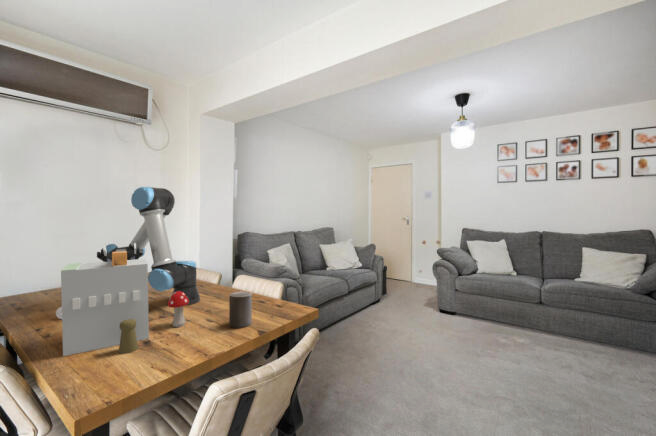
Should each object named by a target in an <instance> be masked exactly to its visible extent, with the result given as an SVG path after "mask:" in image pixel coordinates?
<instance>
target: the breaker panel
mask: <svg viewBox="0 0 656 436" xmlns="http://www.w3.org/2000/svg"><path fill="white" fill-rule="evenodd" d="M148 267H149V265H148V262H147V259H146V258H141V259H140V258H139V259H136V260H127V265H120V266H112V261H111V262H103V261H100V262H87V263H86V262H85V263H82V262H79V263H78V262H77V263H68V264H66V265H65V266H64V267H63V268H62V269H61V270H60V285H61V286H60V287H61V289H60V290H61V295H60V296H61V306H62V319H61V325H62V326H61V327H62V328H61V330H62V333H61V334H62V357H65V356H67V357H68V356H71V355H77V354H80V353H86V352H91V351H95V350H100V349H101V350H102V349H105V348H111V347H115V346H120V338H121V331H122V330H121V329H120V323H121V322H122V321H124V320H127V319H134V320H136V327H135V332H136V338H137V342H139V341H144V340H149V339H150V329H149V327H150V325H149V323H150V322H149V281H148V276H149V275H148V272H149V271H148Z"/></svg>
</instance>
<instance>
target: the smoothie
mask: <svg viewBox="0 0 656 436" xmlns="http://www.w3.org/2000/svg"><path fill="white" fill-rule="evenodd" d="M55 316H56V317H57V318H58V319H59V320H62V305H61V306H60V307H58V308H57V309H56V311H55Z"/></svg>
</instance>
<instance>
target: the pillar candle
mask: <svg viewBox="0 0 656 436" xmlns="http://www.w3.org/2000/svg"><path fill="white" fill-rule="evenodd" d="M252 294H253V293H252V292H250V291H241V290H240V291H233V292H230V294H229V303H228V305H229V306H228V309H229V310H228V311H229V313H228V315H229V318H228V319H229V321H228V322H229V323H228V324H229V327H230V328H233V329H241V328H242V329H243V328H247V327H250V326H251V325H252V322H253V320H252V318H253V317H252V316H253V315H252V314H253V313H252V311H253V310H252V307H253V304H252V300H253V298H252V296H253V295H252Z"/></svg>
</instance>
